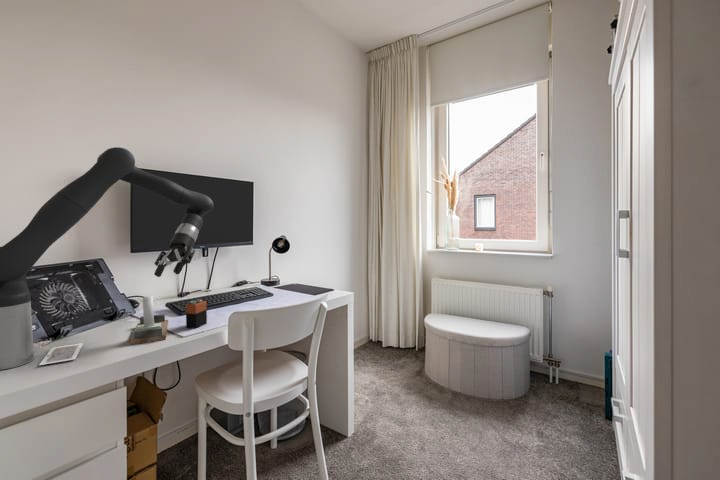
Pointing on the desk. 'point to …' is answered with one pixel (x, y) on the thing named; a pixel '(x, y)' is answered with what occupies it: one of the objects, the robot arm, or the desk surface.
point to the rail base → (164, 331)
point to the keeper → (148, 314)
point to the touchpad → (62, 353)
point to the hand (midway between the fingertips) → (166, 274)
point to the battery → (196, 314)
